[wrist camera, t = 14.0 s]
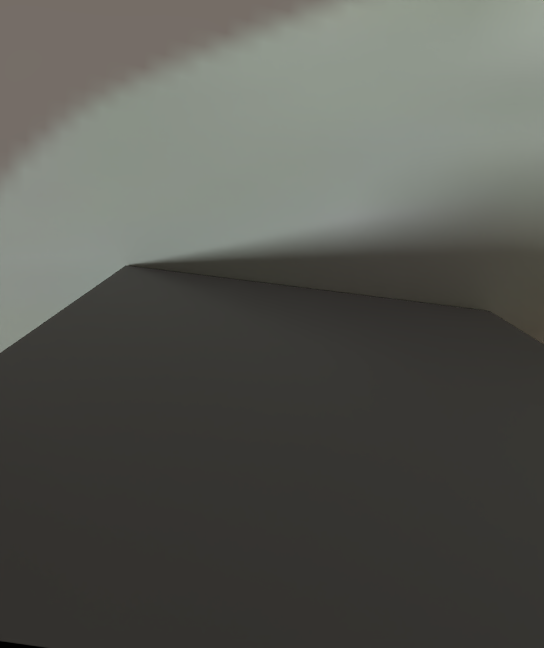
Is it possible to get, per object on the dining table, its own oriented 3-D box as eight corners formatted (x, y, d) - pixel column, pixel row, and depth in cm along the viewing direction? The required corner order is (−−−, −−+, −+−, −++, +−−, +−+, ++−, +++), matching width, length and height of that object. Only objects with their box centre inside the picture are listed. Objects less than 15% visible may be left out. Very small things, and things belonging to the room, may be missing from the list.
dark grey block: (405, 579, 12) (639, 1246, 5) (118, 554, 11) (-144, 1259, 4) (490, 311, 9) (1329, 832, 2) (125, 265, 9) (-543, 731, 2)
